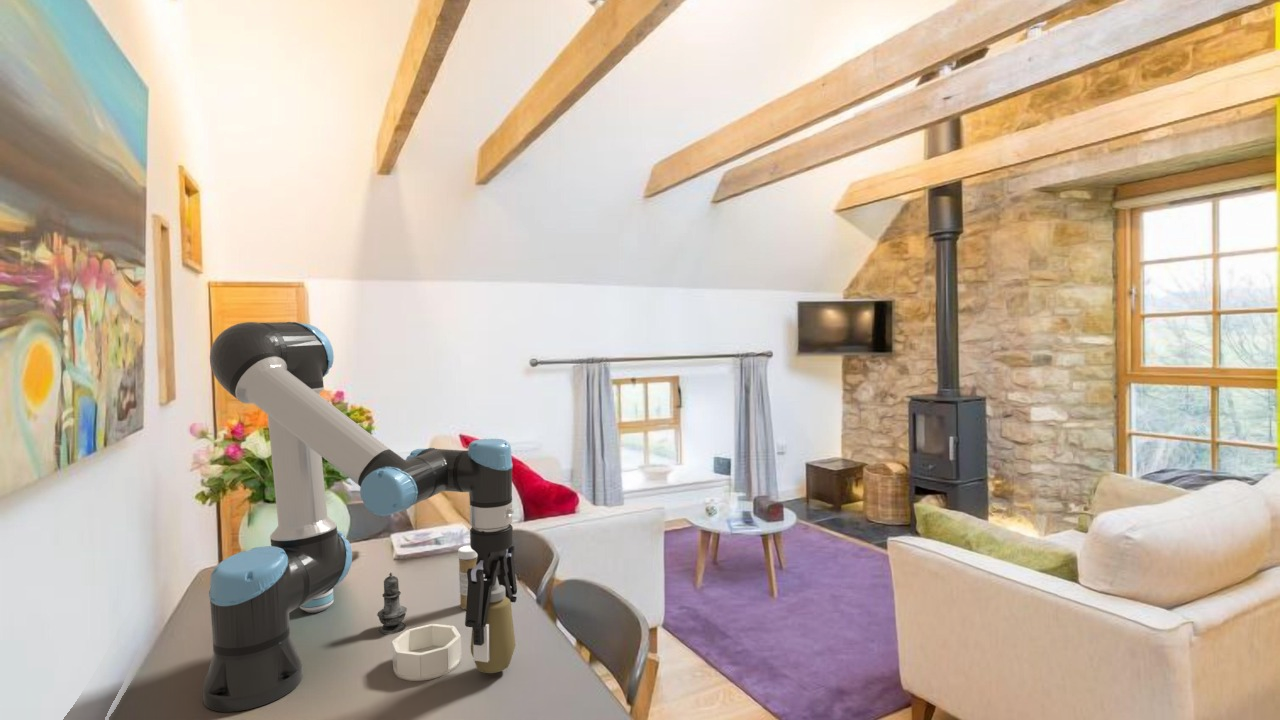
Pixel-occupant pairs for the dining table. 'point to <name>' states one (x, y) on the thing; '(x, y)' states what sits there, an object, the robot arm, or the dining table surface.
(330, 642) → the dining table surface
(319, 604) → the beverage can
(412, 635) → the crock
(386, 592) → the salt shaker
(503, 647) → the squeeze bottle
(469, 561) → the sprinkles bottle
